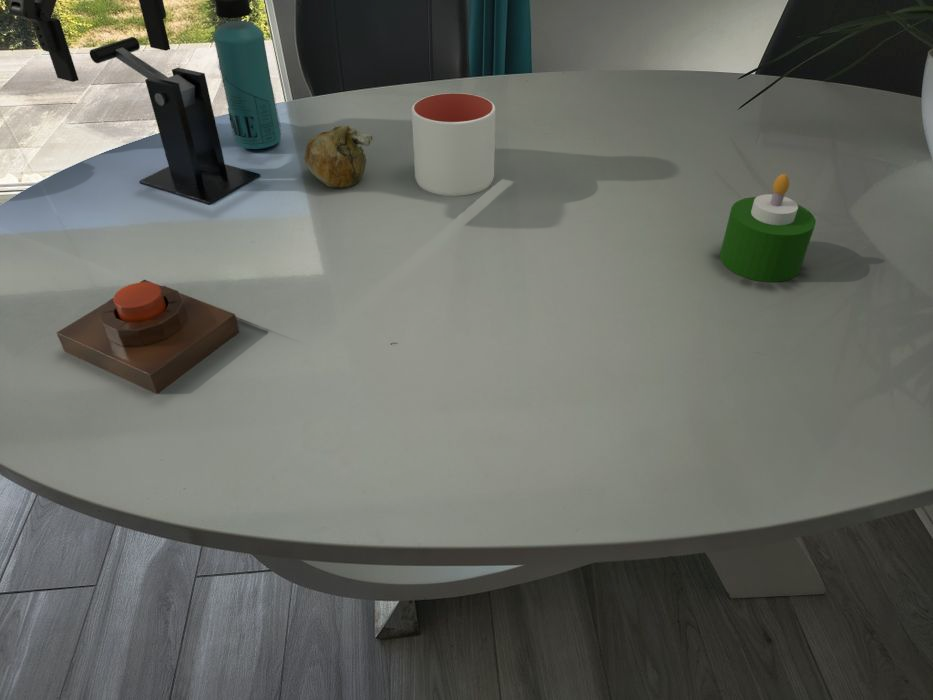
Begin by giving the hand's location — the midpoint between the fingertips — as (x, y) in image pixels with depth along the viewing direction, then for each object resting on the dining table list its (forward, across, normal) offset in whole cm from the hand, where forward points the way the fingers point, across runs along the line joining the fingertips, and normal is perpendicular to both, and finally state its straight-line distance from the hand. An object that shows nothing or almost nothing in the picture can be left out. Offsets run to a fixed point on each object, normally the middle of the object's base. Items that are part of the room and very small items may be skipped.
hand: (116, 63), depth 88 cm
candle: (+13, +16, -76) cm, 79 cm away
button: (+10, -26, -30) cm, 41 cm away
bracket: (+14, 0, -10) cm, 17 cm away
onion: (+14, +9, -25) cm, 30 cm away
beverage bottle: (+14, +12, -9) cm, 21 cm away
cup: (+13, +16, -38) cm, 43 cm away
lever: (+1, 0, -5) cm, 5 cm away
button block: (+14, -26, -30) cm, 42 cm away
